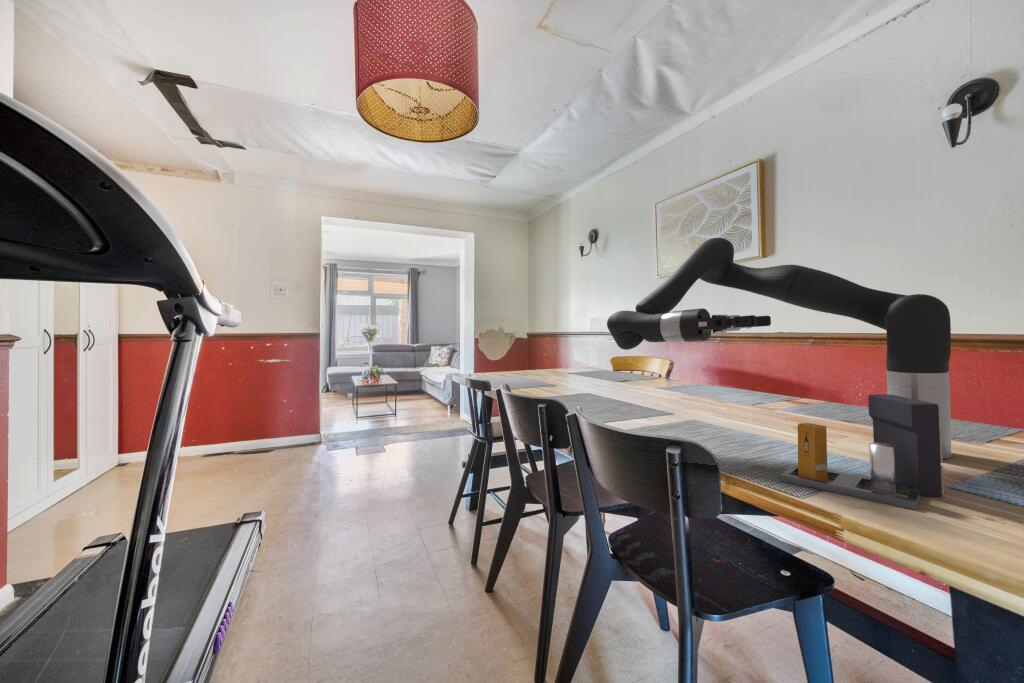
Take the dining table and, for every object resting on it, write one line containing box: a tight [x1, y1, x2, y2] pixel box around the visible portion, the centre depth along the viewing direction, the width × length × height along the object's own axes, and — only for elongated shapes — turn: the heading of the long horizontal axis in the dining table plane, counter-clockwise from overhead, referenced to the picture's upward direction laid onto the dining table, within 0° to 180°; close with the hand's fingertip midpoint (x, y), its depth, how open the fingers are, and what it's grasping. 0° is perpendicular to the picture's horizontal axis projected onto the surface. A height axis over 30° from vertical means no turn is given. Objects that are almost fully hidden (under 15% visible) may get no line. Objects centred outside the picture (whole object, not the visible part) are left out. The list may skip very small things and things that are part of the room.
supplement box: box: [797, 422, 829, 482], centre depth 71 cm, size 3×3×10 cm
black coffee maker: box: [867, 394, 945, 499], centre depth 68 cm, size 11×4×15 cm, turn 167°
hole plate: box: [780, 463, 922, 511], centre depth 67 cm, size 8×17×1 cm, turn 40°
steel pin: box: [868, 442, 897, 496], centre depth 64 cm, size 3×3×8 cm
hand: (763, 320), depth 82 cm, fingers open, 8 cm apart
